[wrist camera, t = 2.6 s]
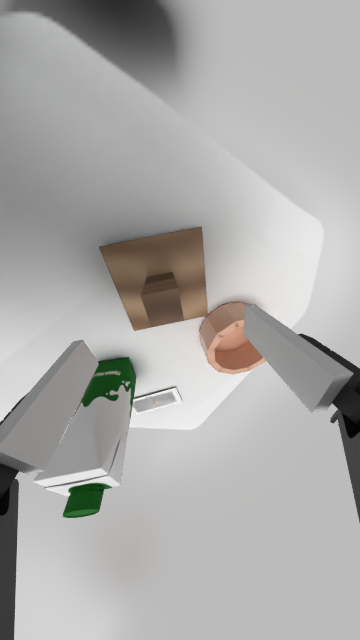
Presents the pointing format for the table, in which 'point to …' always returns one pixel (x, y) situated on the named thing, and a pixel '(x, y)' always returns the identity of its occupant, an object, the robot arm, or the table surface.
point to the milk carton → (93, 441)
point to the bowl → (228, 340)
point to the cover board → (155, 263)
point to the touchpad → (156, 401)
